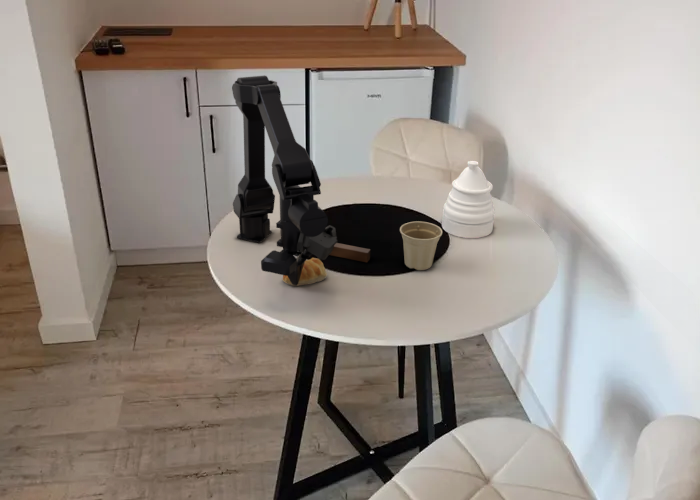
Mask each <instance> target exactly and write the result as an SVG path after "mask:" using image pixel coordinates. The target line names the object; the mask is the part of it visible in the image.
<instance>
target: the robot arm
mask: <svg viewBox="0 0 700 500" xmlns="http://www.w3.org/2000/svg"><path fill="white" fill-rule="evenodd" d="M231 89H232V90H231V91H232V96H233V99H234V100H235V105H236V106H237V108H238V109H239V111H240V112H241V114H242V117H243V118H242V119H243V120H242V121H243V124H242V125H243V152H244V153H243V157H244V158H243V160H244V161H243V162H244V163H243V165H244V166H243V167H244V175H243V176H242V178H241V179H240V180H239V182H238V184H237V194H236V195H235V196H234V199H233V201H232V209H233V213H234V214H235V215H236V217H237V218H238V221H239V223H238V224H239V234H237V235H236V239H238V240H243V241H247V242H248V241H249V242H253V243H258V244H259V243H260V244H261V243H262V242H263V241H264V240H265V239H266V238H268V237H269V236H270V235H271V234H272V233H273V231H272V230H271V219H270V218H269V214H274V208H275V200H276V195H275V193H274V189H273V188H272V186H271V185H270V183H269V182H268V180H267V179H266V133H267V136H268V139H269V142H270V144H271V148H272V151H273V159H272V162H271V175H272V179H273V182H274V184H275V187H276V190H277V192H278V195H279V220H278V221H277V222H276V223H275V225H276V227H275V228H276V229H280V233H279V234H280V237H279V239H278V240H277V241H276V247H277V248H282V249H281V250H280V251H278V250H271V251H270V252H269V253H268V254H267V255H265V256H264V257H263V258H262V259H261V260H260V269H261V271H262V272H267V273H270V274H275V275H280V276H283V275H285V276H288V278H289V279H290V281H291V283H292V284H293V285H292V286H294V285H296V286H297V284H298V282H299V279H300V276H301V272H302V269H303V266H304V263H305V261H306V260H309V258H310V257H311V256H312V255H313V256H316V257H317V258H318V259H319V260H321V261H323V260H324V261H325V260H326V259H327V258H328V256H330V255H329V254H331V252H332V250H333V247H334V245H335V244H336V243H338V236H337V232H336V231H337V230H336V227H334V226H333V225H331V224H329V225H328V223H329V217H328V215H327V214H326V212H325V211H324V210H323V209H322V207H320V206H319V202H318V201H317V200H315V199H314V198H315V197H314V196H317V195H318V196H319V195H321V194H322V192H321V186H322V183H321V179H320V177H319V173H318V172H317V169H316V166H315V164H314V161H313V160H312V159H311V157H310V156H309V154H308V153H309V152H308V151H307V149H306V148H305V147H304V146H302V145H301V144H299V142H297V140H296V137H295V135H294V133H293V129H292V127H291V124H290V122H289V119H288V116H287V113H286V111H285V107H284V105H283V103H282V98H281V96H282V95H281V90H280V87H279V85H278V81H276V80H273V79H271V80H270V79H269V78H268V76H267V75H253V76H244V77H243V76H242V77H241V76H240V77H237V79H236V80H234V83H233V84H232V87H231ZM308 184H310V185H308ZM302 185H307V186H302Z"/></svg>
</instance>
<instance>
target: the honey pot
mask: <svg viewBox="0 0 700 500" xmlns="http://www.w3.org/2000/svg"><path fill="white" fill-rule="evenodd" d="M451 186H452V188H451V190H450V191H449V193H448V196H447V198H446V201H445V202H444V204H443V207H442V210H443V211H442V217H441V218H442V219H441V227H442V228H441V229H442V230H444V231H445V232H446V233H448V234H450V235H451V236H455V237H459V238H464V239H465V238H466V239H478V238H479V239H480V238H484V237H487V236H489V235H490V234H492V233H493V229H494V222H495V215H496V214H495V213H496V212H495V210H496V209H495V206H494V202H493V195H492V194H491V191H492V190H493V189H494V185H493V184H492V182H490V181H489V180H488V179H487V178H486V175H485V173H484V171H483V170H482V169H481V167H480V166H479V162H478V161H476V160H468V161H467V166H466V167H465V168H464V169H463V170H462V171H461V173H460V174H459V175H458V176H457V178H455V179H454V180H453V181H451Z"/></svg>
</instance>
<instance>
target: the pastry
mask: <svg viewBox="0 0 700 500" xmlns="http://www.w3.org/2000/svg"><path fill="white" fill-rule="evenodd" d="M327 276H328V274H327V270H326V267H325V266H324V263H323V262H322V260H321V259H319V258H318V257H317V258H316V257H311V258H310V259H307V260H306V261H305V263H304V266H303V269H302V272H301V276H300V279H299V282H298V284H297V285H293V284H292V283H291V281H290V279H289V278H288V276H285V275H282V282H284V283H285V284H287V285H290V286H293V287H295V286H298V287H299V286H306V285H311V284H315V283H316V282H319V283H320V282H322V281H324V280H325V279H326V278H327Z"/></svg>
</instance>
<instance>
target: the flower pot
mask: <svg viewBox="0 0 700 500" xmlns="http://www.w3.org/2000/svg"><path fill="white" fill-rule="evenodd" d="M399 232H400V234H401V237H402V243H403V244H402V245H403V256H404V265H405V266H406V267H407V268H409V269H415V270H416V271H425V270H428V269H430V268H431V267H432V265H433V263H434V258H435V254H436V250H437V246H438V245H437V244H438V242H439V240H440V238H441V237H442V235H443V228H441V227H440V226H438V225H437V224H435V223H431V222H427V221H421V220H420V221H419V220H418V221H410V222H407V223H403V224H401V226H400V227H399Z"/></svg>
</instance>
